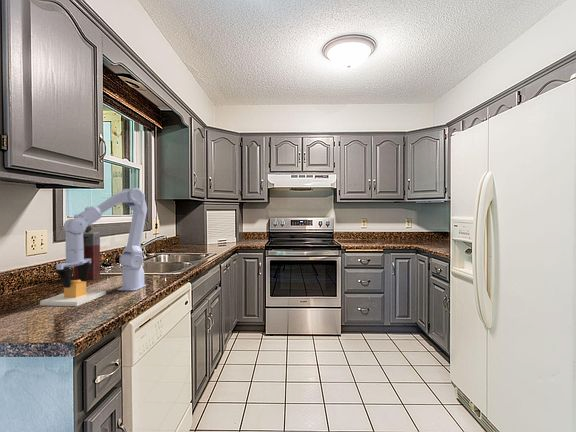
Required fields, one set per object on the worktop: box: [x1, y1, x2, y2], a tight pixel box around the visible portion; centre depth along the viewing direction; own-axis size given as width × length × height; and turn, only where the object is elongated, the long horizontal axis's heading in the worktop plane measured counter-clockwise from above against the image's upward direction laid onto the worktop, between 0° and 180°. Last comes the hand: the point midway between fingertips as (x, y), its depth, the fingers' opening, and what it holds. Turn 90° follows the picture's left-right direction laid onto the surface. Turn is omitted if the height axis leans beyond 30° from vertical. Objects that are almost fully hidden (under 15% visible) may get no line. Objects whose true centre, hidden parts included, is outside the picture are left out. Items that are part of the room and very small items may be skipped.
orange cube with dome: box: [63, 279, 87, 298], centre depth 119 cm, size 5×5×6 cm
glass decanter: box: [73, 224, 101, 281], centre depth 157 cm, size 9×11×28 cm
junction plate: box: [39, 289, 107, 307], centre depth 120 cm, size 16×14×5 cm
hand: (75, 284), depth 120 cm, fingers open, 7 cm apart
